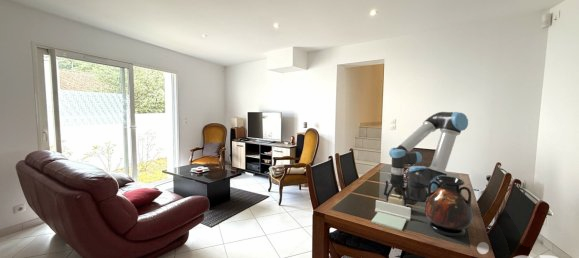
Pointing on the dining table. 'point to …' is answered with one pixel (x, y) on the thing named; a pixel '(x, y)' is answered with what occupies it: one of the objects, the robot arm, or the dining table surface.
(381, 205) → the white slab
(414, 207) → the dining table surface
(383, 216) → the display pad
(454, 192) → the amphora vase
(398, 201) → the maple cube
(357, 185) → the dining table surface
